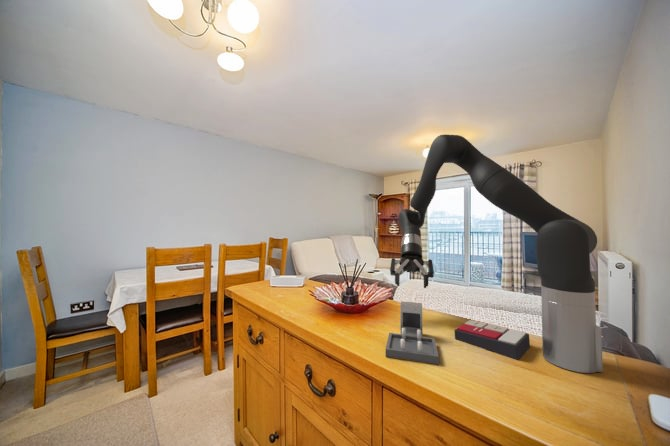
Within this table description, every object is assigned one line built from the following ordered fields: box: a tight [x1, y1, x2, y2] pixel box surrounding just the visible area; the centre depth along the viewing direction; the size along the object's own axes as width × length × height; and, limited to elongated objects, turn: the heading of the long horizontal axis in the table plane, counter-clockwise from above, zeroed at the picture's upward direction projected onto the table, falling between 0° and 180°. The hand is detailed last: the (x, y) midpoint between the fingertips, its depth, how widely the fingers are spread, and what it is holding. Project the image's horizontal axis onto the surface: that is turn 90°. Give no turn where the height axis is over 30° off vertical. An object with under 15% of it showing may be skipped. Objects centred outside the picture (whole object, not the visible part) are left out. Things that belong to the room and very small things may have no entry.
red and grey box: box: [453, 319, 531, 361], centre depth 68 cm, size 11×4×15 cm
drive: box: [399, 300, 424, 337], centre depth 73 cm, size 6×4×9 cm
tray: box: [385, 328, 440, 365], centre depth 63 cm, size 12×10×4 cm
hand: (411, 285), depth 82 cm, fingers open, 8 cm apart
